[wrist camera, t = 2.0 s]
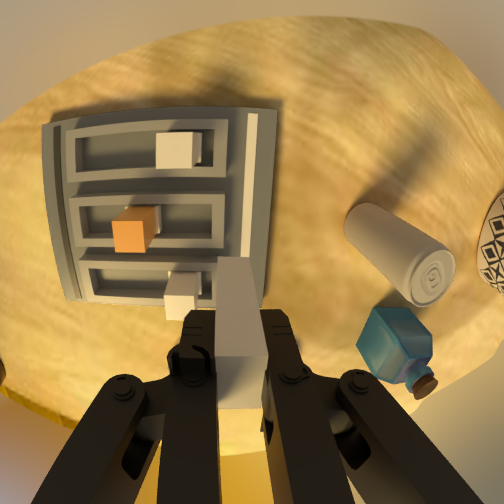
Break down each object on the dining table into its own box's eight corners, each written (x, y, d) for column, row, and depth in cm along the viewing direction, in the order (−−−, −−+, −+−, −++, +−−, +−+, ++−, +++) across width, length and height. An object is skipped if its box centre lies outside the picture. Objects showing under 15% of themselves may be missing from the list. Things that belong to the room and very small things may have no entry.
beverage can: (368, 191, 26) (449, 233, 15) (388, 226, 27) (461, 279, 17) (333, 220, 27) (398, 280, 16) (355, 254, 28) (418, 320, 17)
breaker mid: (130, 229, 23) (111, 252, 19) (128, 203, 23) (108, 221, 18) (161, 229, 24) (149, 252, 19) (160, 203, 23) (146, 220, 18)
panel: (70, 295, 27) (60, 308, 24) (48, 124, 19) (33, 125, 17) (260, 301, 29) (263, 316, 27) (274, 111, 22) (281, 108, 19)
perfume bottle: (408, 307, 33) (457, 365, 22) (390, 343, 35) (429, 402, 24) (373, 307, 32) (422, 374, 21) (355, 344, 34) (392, 412, 23)
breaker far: (171, 288, 26) (163, 319, 22) (169, 266, 25) (160, 295, 21) (201, 289, 27) (199, 320, 22) (201, 266, 26) (197, 296, 21)
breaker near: (166, 161, 21) (151, 169, 17) (166, 133, 21) (151, 133, 16) (201, 161, 22) (196, 168, 17) (202, 132, 21) (197, 132, 16)
